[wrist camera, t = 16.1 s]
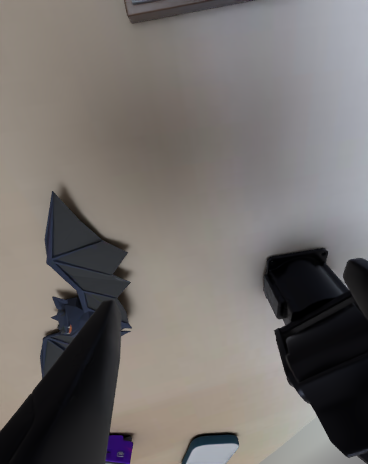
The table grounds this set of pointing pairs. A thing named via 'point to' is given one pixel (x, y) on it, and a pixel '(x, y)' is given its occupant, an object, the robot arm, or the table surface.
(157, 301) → the table surface
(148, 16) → the plate
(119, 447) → the handheld gaming console
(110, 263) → the decorative bat
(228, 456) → the external hard drive
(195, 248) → the table surface
